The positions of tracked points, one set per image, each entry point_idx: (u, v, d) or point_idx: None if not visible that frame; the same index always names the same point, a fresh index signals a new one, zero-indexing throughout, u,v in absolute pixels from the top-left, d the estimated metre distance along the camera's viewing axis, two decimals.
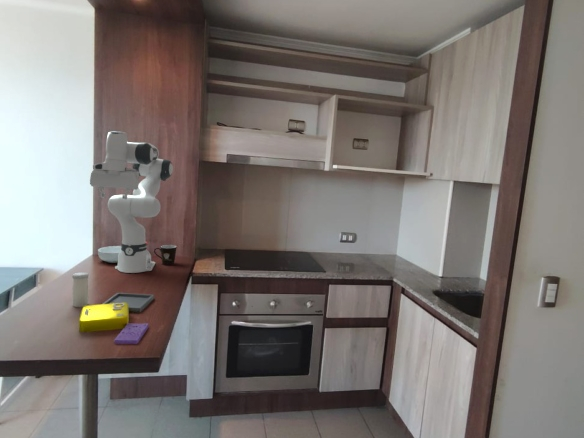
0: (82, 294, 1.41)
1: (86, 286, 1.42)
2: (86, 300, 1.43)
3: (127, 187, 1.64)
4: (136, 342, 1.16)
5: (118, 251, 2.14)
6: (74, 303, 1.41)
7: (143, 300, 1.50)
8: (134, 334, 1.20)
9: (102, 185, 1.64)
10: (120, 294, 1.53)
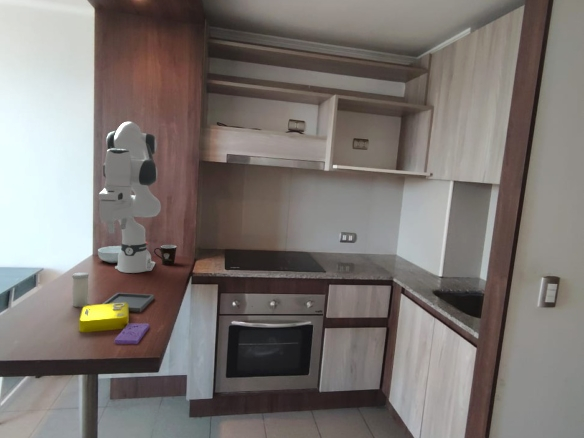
0: (82, 294, 1.41)
1: (86, 286, 1.42)
2: (86, 300, 1.43)
3: (129, 215, 1.42)
4: (136, 342, 1.16)
5: (118, 251, 2.14)
6: (74, 303, 1.41)
7: (143, 300, 1.50)
8: (134, 335, 1.20)
9: (117, 218, 1.31)
10: (120, 294, 1.53)
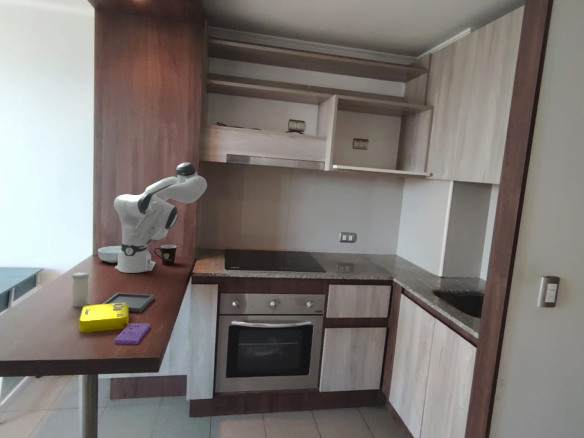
0: (82, 294, 1.41)
1: (86, 286, 1.42)
2: (86, 300, 1.43)
3: (149, 208, 1.56)
4: (136, 342, 1.16)
5: (118, 251, 2.14)
6: (74, 303, 1.41)
7: (143, 300, 1.50)
8: (134, 335, 1.20)
9: None
10: (120, 294, 1.53)
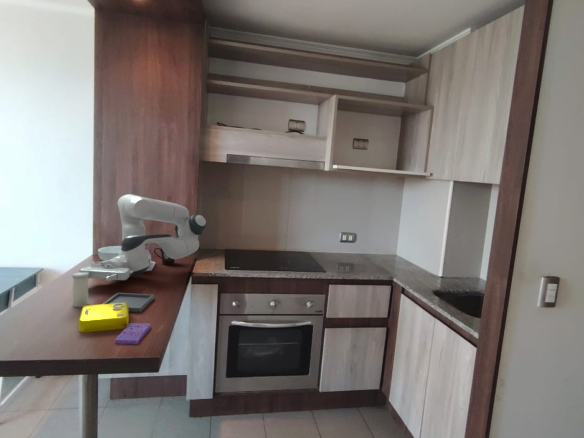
0: (82, 294, 1.41)
1: (86, 286, 1.42)
2: (86, 300, 1.43)
3: (117, 271, 1.60)
4: (136, 342, 1.16)
5: (118, 251, 2.14)
6: (74, 303, 1.41)
7: (143, 300, 1.50)
8: (135, 335, 1.20)
9: (92, 270, 1.59)
10: (120, 294, 1.53)
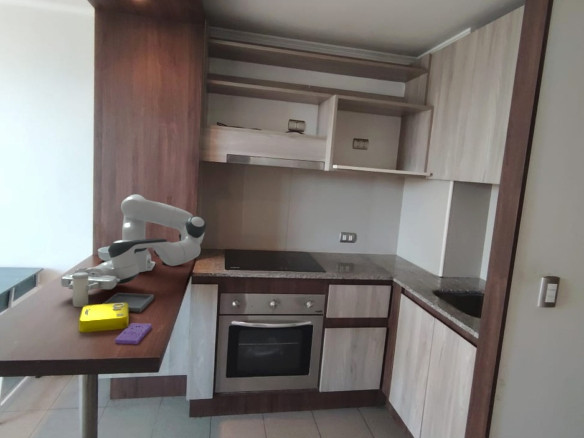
0: (82, 294, 1.41)
1: None
2: (86, 300, 1.43)
3: (102, 280, 1.47)
4: (136, 342, 1.16)
5: None
6: (74, 303, 1.41)
7: (143, 300, 1.50)
8: (135, 335, 1.20)
9: None
10: (120, 294, 1.53)
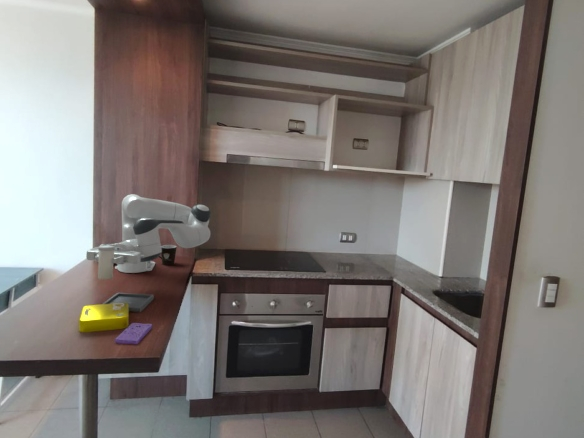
0: (107, 266, 1.41)
1: None
2: (111, 273, 1.42)
3: (127, 254, 1.47)
4: (136, 342, 1.16)
5: None
6: (99, 275, 1.40)
7: (143, 300, 1.50)
8: (135, 335, 1.20)
9: None
10: (120, 294, 1.53)
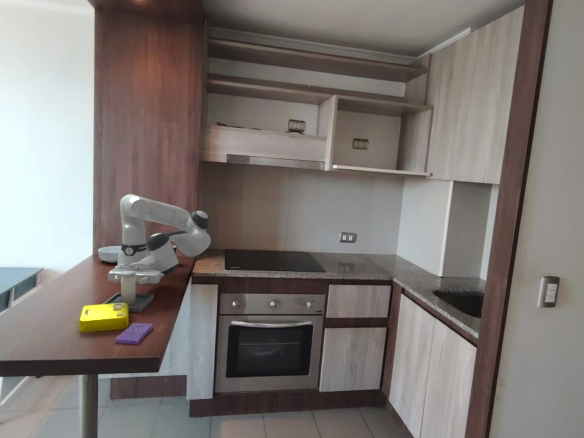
0: (130, 292, 1.44)
1: (134, 284, 1.46)
2: (134, 298, 1.46)
3: (148, 274, 1.50)
4: (136, 342, 1.16)
5: (118, 251, 2.14)
6: (123, 301, 1.44)
7: (143, 300, 1.50)
8: (135, 335, 1.20)
9: None
10: (120, 294, 1.53)
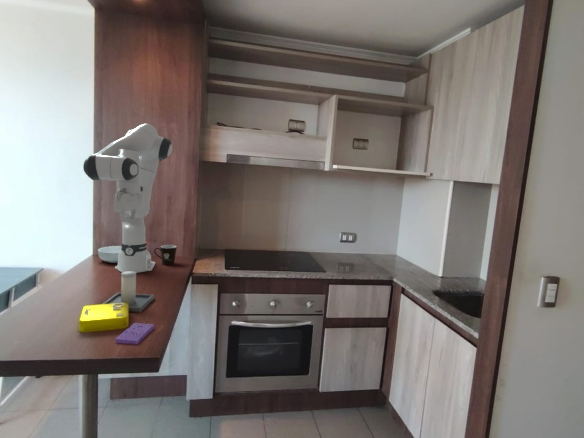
0: (130, 292, 1.44)
1: (134, 284, 1.46)
2: (134, 298, 1.46)
3: None
4: (136, 342, 1.16)
5: (118, 251, 2.14)
6: (123, 301, 1.44)
7: (143, 300, 1.50)
8: (136, 335, 1.20)
9: None
10: (120, 294, 1.53)
